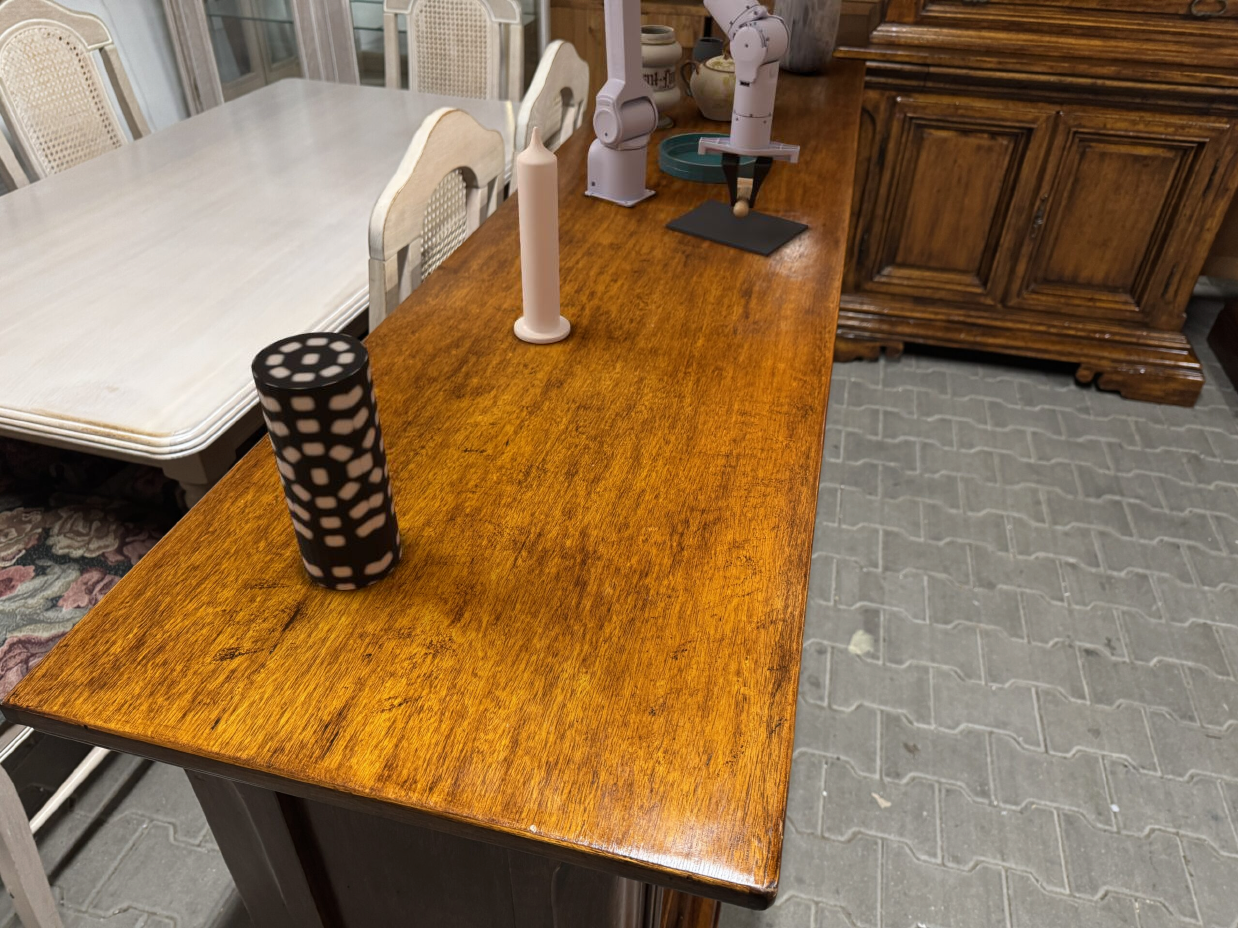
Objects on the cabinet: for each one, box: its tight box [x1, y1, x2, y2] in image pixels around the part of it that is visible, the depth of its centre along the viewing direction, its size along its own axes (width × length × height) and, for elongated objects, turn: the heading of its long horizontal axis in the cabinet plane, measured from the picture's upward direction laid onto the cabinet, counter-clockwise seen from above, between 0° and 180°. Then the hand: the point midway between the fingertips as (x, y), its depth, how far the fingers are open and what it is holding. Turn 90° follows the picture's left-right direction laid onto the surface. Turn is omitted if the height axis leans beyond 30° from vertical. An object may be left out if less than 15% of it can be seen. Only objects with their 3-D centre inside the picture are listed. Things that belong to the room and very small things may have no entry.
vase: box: [772, 0, 843, 74], centre depth 213 cm, size 16×16×30 cm
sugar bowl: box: [679, 39, 736, 122], centre depth 184 cm, size 20×15×15 cm
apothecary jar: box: [641, 24, 683, 129], centre depth 177 cm, size 12×12×18 cm
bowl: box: [657, 132, 756, 184], centre depth 160 cm, size 19×19×4 cm
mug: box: [686, 36, 724, 96], centre depth 201 cm, size 12×9×11 cm
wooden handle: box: [734, 178, 761, 218], centre depth 136 cm, size 14×4×2 cm, turn 168°
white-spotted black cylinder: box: [250, 331, 403, 591], centre depth 71 cm, size 8×8×20 cm
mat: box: [665, 199, 809, 258], centre depth 139 cm, size 18×14×1 cm
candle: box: [513, 126, 571, 345], centre depth 103 cm, size 7×7×25 cm
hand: (742, 205), depth 133 cm, fingers closed on wooden handle, 2 cm apart
